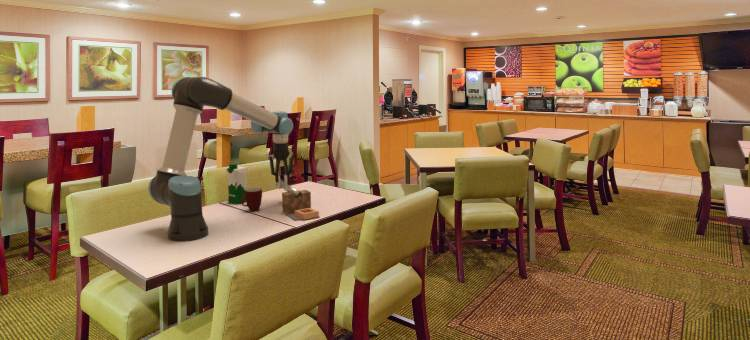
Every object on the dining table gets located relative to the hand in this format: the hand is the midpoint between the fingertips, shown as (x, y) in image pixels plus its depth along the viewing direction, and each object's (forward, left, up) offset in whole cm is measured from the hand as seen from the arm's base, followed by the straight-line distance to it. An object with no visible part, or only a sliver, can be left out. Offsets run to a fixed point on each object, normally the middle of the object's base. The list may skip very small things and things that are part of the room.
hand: (282, 187), depth 241 cm
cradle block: (0, -21, -8) cm, 23 cm away
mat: (0, -30, -8) cm, 31 cm away
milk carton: (-20, +12, -8) cm, 24 cm away
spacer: (0, -28, -6) cm, 29 cm away
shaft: (0, -10, -1) cm, 10 cm away
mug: (-18, -8, -8) cm, 21 cm away
